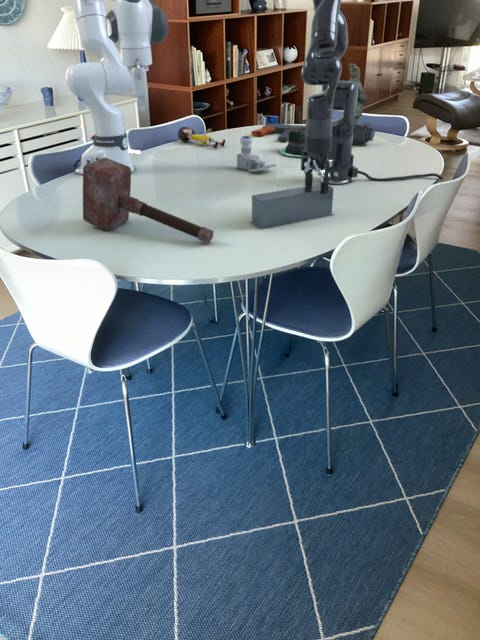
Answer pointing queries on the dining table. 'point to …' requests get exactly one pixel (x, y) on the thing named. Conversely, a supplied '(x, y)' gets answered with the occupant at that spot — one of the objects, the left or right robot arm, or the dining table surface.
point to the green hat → (295, 143)
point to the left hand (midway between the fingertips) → (141, 108)
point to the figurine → (197, 137)
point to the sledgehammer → (123, 200)
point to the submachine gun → (277, 130)
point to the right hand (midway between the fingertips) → (316, 190)
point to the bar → (291, 205)
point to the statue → (361, 97)
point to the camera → (249, 157)
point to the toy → (363, 134)
